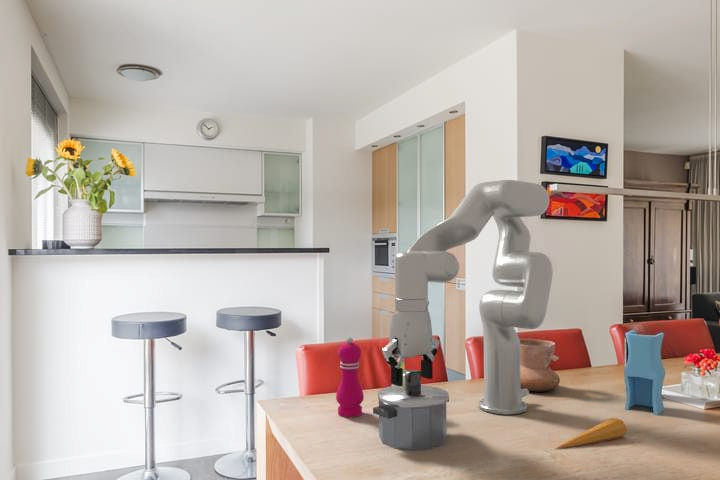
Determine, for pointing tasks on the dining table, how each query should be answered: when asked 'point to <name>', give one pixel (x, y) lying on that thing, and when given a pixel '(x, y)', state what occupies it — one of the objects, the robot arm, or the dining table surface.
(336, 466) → the dining table surface
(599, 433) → the carrot
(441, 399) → the lid
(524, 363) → the ceramic jug
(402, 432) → the pot
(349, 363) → the pepper mill
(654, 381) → the blue tall piece
